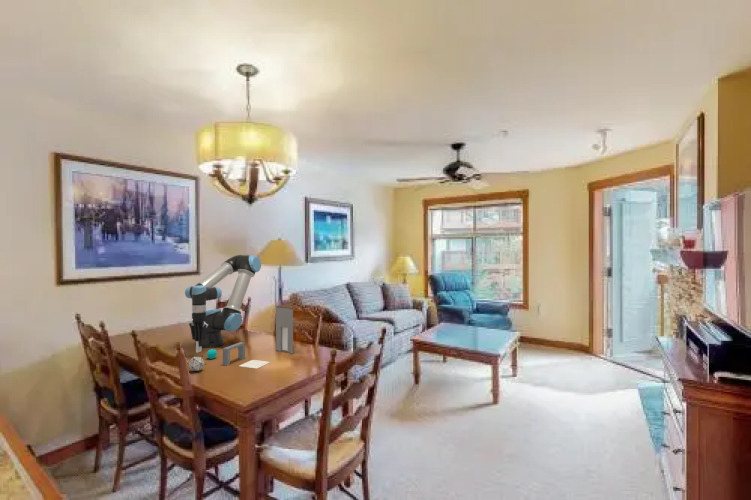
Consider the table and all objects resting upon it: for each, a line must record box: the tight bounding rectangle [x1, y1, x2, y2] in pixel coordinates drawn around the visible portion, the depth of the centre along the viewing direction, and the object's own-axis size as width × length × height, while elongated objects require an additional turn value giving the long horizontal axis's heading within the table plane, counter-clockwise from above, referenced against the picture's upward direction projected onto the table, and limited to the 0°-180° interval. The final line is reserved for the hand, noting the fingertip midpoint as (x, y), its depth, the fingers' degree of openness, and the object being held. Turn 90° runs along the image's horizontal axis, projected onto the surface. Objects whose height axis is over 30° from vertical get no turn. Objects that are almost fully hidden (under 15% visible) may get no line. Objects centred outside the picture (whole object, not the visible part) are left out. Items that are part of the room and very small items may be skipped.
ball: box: [206, 348, 218, 360], centre depth 223 cm, size 6×6×6 cm
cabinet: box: [275, 302, 294, 355], centre depth 241 cm, size 21×10×28 cm, turn 17°
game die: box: [186, 355, 207, 373], centre depth 201 cm, size 9×8×10 cm
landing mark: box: [238, 359, 271, 370], centre depth 213 cm, size 12×12×1 cm
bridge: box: [222, 341, 246, 367], centre depth 218 cm, size 3×14×9 cm, turn 160°
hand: (198, 351), depth 226 cm, fingers closed
